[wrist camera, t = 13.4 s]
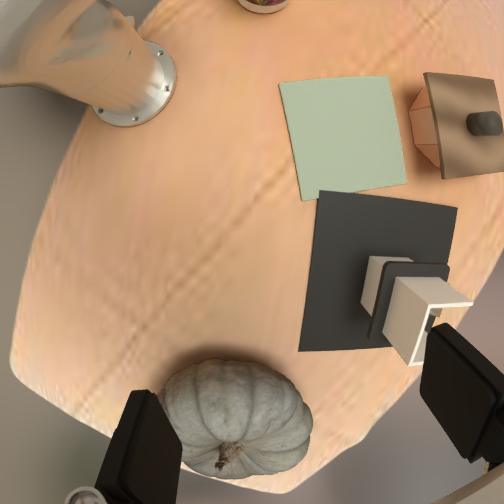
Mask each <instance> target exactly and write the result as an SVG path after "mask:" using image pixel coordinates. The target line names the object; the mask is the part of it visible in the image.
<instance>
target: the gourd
mask: <svg viewBox="0 0 504 504" xmlns="http://www.w3.org/2000/svg"><path fill="white" fill-rule="evenodd" d="M157 398H158V400H159V402H160V404H161V406H162V408H163V409H164V411H165V413H166V415H167V417H168V419H169V421H170V423H171V424H172V426H173V428H174V430H175V432H176V433H177V435H178V437H179V439H180V441H181V443H182V447H183V452H182V459H181V461H183V462H184V463H185V464H186V465H187V466H188V467H189V468H191V469H192V470H194V471H195V472H197V473H200V474H202V475H205V476H209V477H216V478H219V479H243V478H247V477H249V476H251V475H272V474H276V473H278V472H283V471H287V470H289V469H291V468H293V467H295V466H296V465H297V464H298V463H299V462H300V461H301V460H302V459H303V458H304V457H305V455H306V453H307V450H308V447H309V442H310V433H311V431H312V427H313V419H312V414H311V411H310V408H309V407H308V405H307V404H306V403H304V402H303V399H302V397H301V395H300V393H299V392H298V390H297V389H295V386H294V384H293V383H292V382H291V381H290V380H289V379H288V378H287V377H285V376H284V375H282V374H281V373H279V372H277V371H274V370H271V369H269V368H267V367H265V366H264V365H261V364H259V363H254V362H241V361H234V360H229V361H223V360H220V359H208V360H206V361H204V362H202V363H199V364H194V365H191V366H189V367H187V368H185V369H184V370H181V371H179V372H177V373H175V374H174V375H173V376H172V377H171V378H170V379H169V380H168V382H167V384H166V385H165V387H164V389H163V390H162V391H161V392H160V393H159V394H158V395H157Z"/></svg>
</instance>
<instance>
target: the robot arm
mask: <svg viewBox="0 0 504 504" xmlns="http://www.w3.org/2000/svg"><path fill="white" fill-rule="evenodd" d="M161 54H163V55H162V56H160V55H161ZM176 78H177V75H176V67H175V64H174V61H173V60H172V58H171V56H170V55H169V53H168V52H167V51H166V50H165V49H164V48H163V47H161V46H160V45H158V44H156V43H153V42H150V41H144V40H143V39H142V38H141V37H140V35H139V34H138V33H137V32H136V30H135V22H134V17H133V16H126V17H124V16H123V15H122V13H121V12H120V11H119V10H118V9H117V8H116V7H115V6H114V5H113V4H111V3H110V2H108V1H106V0H0V88H1V87H14V86H30V87H36V88H41V89H45V90H49V91H52V92H55V93H58V94H61V95H64V96H67V97H70V98H73V99H76V100H79V101H82V102H85V103H87V104H90V105H91V106H92V108H93V110H94V112H95V113H96V114H97V116H98V117H100V118H101V119H102V120H103V121H105V122H107V123H109V124H112V125H115V126H122V127H128V126H135V125H139V124H142V123H144V122H146V121H148V120H150V119H151V118H153V117H154V116H156V115H157V114H158V113H159V112H160V111H161V110H162V109H163V108H164V107H165V106H166V104H167V103H168V102H169V100H170V98H171V96H172V94H173V92H174V89H175V86H176ZM167 89H170V90H169V91H168V92H167V91H166V90H167ZM102 110H103V113H102ZM137 117H138V118H139V119H138V121H136V118H137ZM420 394H421V397H422V399H423V400H424V402H425V403H426V404H427V406H428V407H429V409H430V410H431V412H432V413H433V415H434V416H435V417H436V419H437V420H438V422H439V423H440V425H441V426H442V428H443V429H444V431H445V432H446V434H447V435H448V437H449V438H450V440H451V441H452V443H453V444H454V446H455V447H456V449H457V450H458V452H459V453H460V455H461V456H462V457H463V458H464V459H466V458H467V459H468V460H469V462H470V463H473V462H474V461H476V460H478V459H479V458H481V457H483V458H484V459H485V461H486V463H485V468H484V473H483V476H481V477H480V478H478V479H476V480H474V481H473V482H471V483H469V484H467V485H466V486H464V487H462V488H460V489H458V490H456V491H455V492H453V493H451V494H449V495H447V496H445V497H443V498H441V499H439V500H437V501H435V502H433V503H431V504H504V375H503V374H502V373H501V372H500V371H499V370H498V369H497V368H496V367H495V366H494V365H493V364H492V363H491V362H490V361H489V360H488V359H487V358H486V357H485V356H483V355H482V354H481V353H480V352H479V351H478V350H477V349H476V348H475V347H474V346H473V345H471V344H470V343H469V342H468V341H467V340H466V339H465V338H464V337H463V336H462V335H460V334H459V333H458V332H457V331H456V330H455V329H454V328H453V327H451V326H450V325H449V324H448V323H443V324H440V325H437V326H435V327H432V328H431V330H430V333H428V334H427V338H426V347H425V355H424V363H423V370H422V377H421V383H420ZM182 452H183V447H182V443H181V441H180V439H179V437H178V435H177V433H176V432H175V430H174V428H173V426H172V424H171V423H170V421H169V419H168V417H167V415H166V413H165V411H164V409H163V408H162V406H161V404H160V402H159V400H158V398H157V396H156V394H155V393H151V392H150V391H149V390H147V389H146V390H133V391H131V393H130V395H129V398H128V400H127V403H126V406H125V408H124V411H123V413H122V416H121V419H120V421H119V424H118V426H117V428H116V429H115V431H114V433H113V436H112V439H111V442H110V444H109V447H108V450H107V452H106V455H105V458H104V461H103V464H102V466H101V469H100V472H99V475H98V478H97V481H96V484H95V487H94V488H91V487H80V488H77V489H75V490H74V491H72V492H71V493H70V494H69V495H68V496H67V498H66V500H65V504H175V503H176V495H177V488H178V479H179V473H180V466H181V459H182Z"/></svg>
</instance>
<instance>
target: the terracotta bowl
mask: <svg viewBox="0 0 504 504" xmlns="http://www.w3.org/2000/svg"><path fill="white" fill-rule="evenodd" d="M409 111H410V112H409V116H410V121H411V126H412V132H413V138H414V144H415V146H416V147H417V148H418V149H419V150H420V151H421V152H422V153H423V154H424V155H425V156H426V157H427V158H428V159H429V160H430V161H431V162H432V163H433V164H434V165H435V167H438V168H440V159H439V152H438V145H437V138H436V132H435V126H434V121H433V115H432V110H431V105H430V101H429V96H428V92H427V87H424V88H422V90H421V91H420V93H419V95H418V96H417V98H416V100H415V101H414V103H413V105H412V106H411V108H410V110H409Z"/></svg>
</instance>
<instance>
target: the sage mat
mask: <svg viewBox="0 0 504 504" xmlns="http://www.w3.org/2000/svg"><path fill="white" fill-rule="evenodd" d="M279 88H280V93H281V97H282V102H283V106H284V111H285V116H286V121H287V125H288V130H289V135H290V140H291V145H292V150H293V155H294V161H295V166H296V171H297V177H298V182H299V188H300V193H301V199H302V201H306V200H311V199H317V198H319V190H326V191H337V192H347V193H350V192H356V191H362V190H368V189H374V188H381V187H387V186H393V185H400V184H406V183H407V180H406V172H405V164H404V157H403V150H402V144H401V138H400V132H399V126H398V121H397V116H396V111H395V106H394V102H393V97H392V93H391V88H390V84H389V80H388V76H356V77H337V78H323V79H312V80H302V81H293V82H285V83H279Z"/></svg>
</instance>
